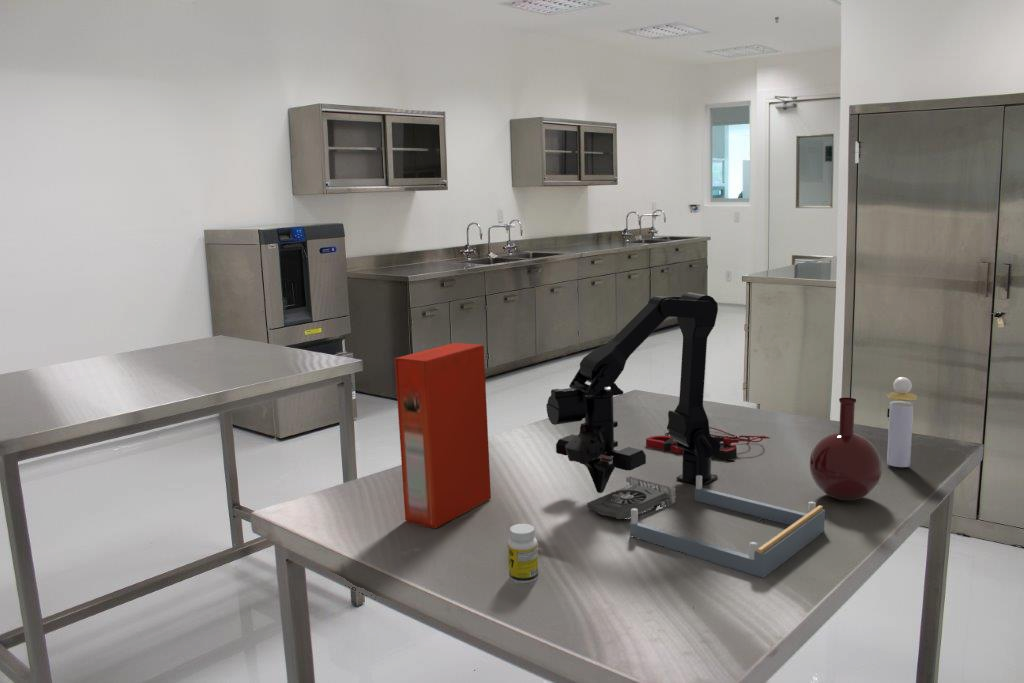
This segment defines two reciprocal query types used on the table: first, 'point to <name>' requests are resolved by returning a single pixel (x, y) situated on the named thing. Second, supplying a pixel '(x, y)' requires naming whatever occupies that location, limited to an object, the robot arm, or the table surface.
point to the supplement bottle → (523, 554)
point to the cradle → (757, 560)
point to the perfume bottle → (900, 423)
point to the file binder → (443, 432)
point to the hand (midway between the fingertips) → (600, 492)
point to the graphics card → (632, 499)
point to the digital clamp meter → (726, 448)
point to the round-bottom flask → (845, 460)
